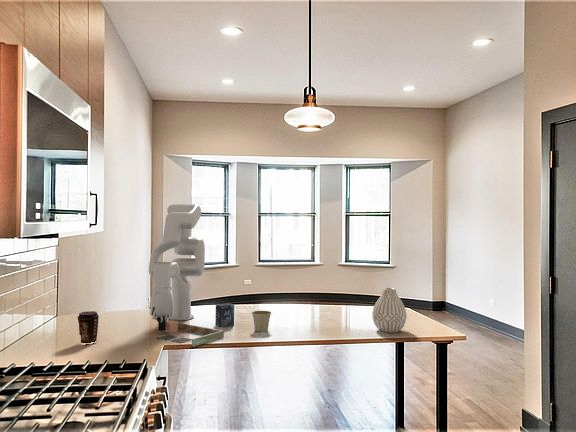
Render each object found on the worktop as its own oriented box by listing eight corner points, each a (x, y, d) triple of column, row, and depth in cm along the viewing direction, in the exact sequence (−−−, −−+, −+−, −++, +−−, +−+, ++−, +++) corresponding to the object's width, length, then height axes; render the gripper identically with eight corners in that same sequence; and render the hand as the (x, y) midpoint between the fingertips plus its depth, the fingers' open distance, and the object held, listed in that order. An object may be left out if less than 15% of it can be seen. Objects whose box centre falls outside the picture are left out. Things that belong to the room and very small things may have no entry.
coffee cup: (81, 340, 218) (81, 310, 218) (101, 340, 219) (101, 310, 219) (74, 345, 210) (74, 314, 210) (95, 345, 210) (95, 314, 210)
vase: (412, 334, 232) (412, 291, 232) (378, 335, 229) (379, 291, 229) (398, 326, 248) (399, 285, 248) (367, 327, 245) (367, 286, 245)
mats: (156, 338, 223) (156, 337, 223) (168, 335, 229) (168, 334, 229) (180, 343, 215) (180, 342, 215) (192, 339, 220) (192, 339, 220)
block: (162, 331, 236) (162, 321, 236) (170, 329, 240) (170, 320, 240) (170, 333, 233) (170, 323, 233) (178, 330, 237) (178, 321, 237)
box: (220, 327, 244) (220, 306, 244) (215, 325, 248) (215, 304, 248) (234, 325, 248) (234, 304, 248) (229, 323, 253) (229, 302, 253)
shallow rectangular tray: (140, 335, 227) (140, 329, 227) (171, 327, 243) (171, 321, 243) (193, 346, 209) (193, 339, 209) (223, 337, 225) (223, 330, 225)
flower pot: (274, 329, 241) (274, 311, 241) (267, 333, 232) (267, 315, 232) (256, 327, 244) (256, 309, 244) (248, 332, 235) (248, 313, 235)
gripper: (168, 288, 241) (168, 326, 241) (143, 292, 228) (143, 332, 229) (179, 289, 237) (179, 328, 237) (155, 293, 224) (155, 334, 224)
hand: (162, 330), depth 233 cm, fingers closed
